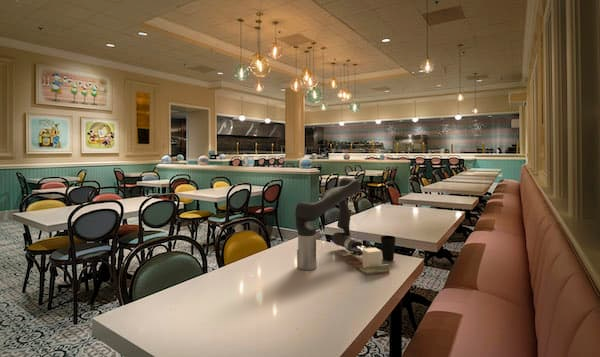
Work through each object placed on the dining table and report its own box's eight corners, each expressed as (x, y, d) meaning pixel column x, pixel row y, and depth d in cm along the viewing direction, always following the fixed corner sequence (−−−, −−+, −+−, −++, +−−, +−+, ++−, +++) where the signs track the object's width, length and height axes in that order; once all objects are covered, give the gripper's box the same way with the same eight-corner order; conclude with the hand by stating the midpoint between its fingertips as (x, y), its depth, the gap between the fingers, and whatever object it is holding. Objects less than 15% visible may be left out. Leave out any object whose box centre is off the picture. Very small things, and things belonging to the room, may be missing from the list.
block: (362, 266, 173) (362, 248, 172) (375, 265, 175) (375, 247, 174) (368, 270, 167) (368, 252, 166) (381, 269, 169) (381, 250, 168)
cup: (397, 261, 183) (397, 239, 182) (382, 261, 183) (382, 239, 182) (393, 256, 190) (393, 235, 189) (379, 257, 191) (379, 235, 189)
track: (341, 257, 191) (341, 250, 191) (361, 255, 194) (361, 248, 194) (366, 275, 163) (366, 267, 163) (389, 272, 167) (389, 264, 166)
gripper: (342, 240, 187) (356, 249, 171) (364, 238, 191) (380, 246, 175) (342, 254, 188) (356, 264, 172) (364, 251, 192) (380, 261, 175)
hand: (368, 255), depth 173 cm, fingers closed
